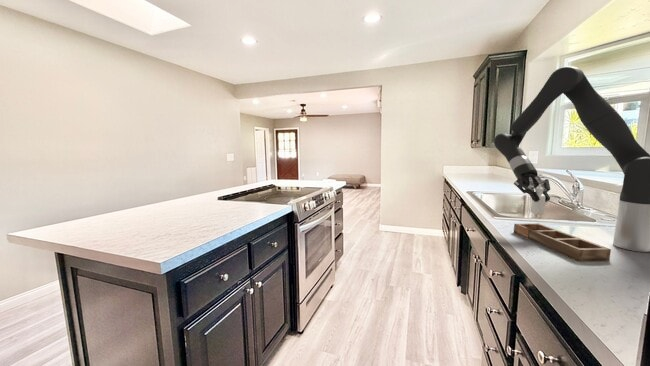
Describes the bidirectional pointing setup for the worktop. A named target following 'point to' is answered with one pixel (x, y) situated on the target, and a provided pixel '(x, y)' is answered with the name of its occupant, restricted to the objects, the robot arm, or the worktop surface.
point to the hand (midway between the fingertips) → (542, 200)
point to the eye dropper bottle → (538, 206)
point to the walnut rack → (563, 242)
